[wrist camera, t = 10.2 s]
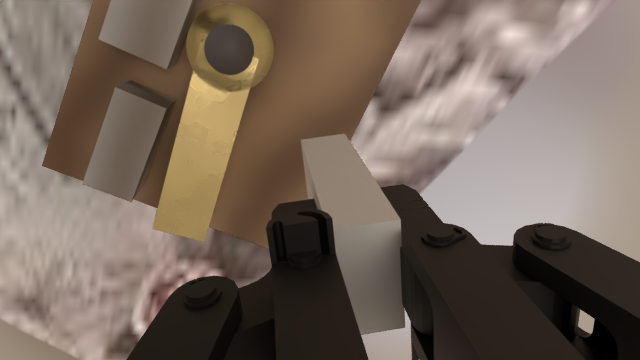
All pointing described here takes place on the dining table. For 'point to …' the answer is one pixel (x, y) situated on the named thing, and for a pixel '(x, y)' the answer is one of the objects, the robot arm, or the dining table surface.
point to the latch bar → (209, 123)
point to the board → (273, 107)
